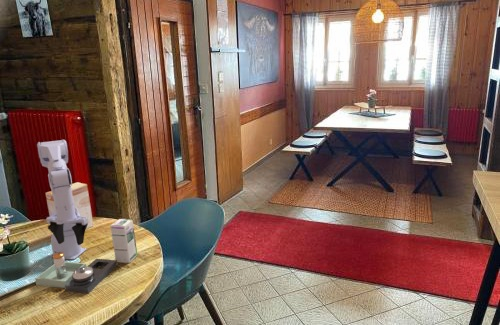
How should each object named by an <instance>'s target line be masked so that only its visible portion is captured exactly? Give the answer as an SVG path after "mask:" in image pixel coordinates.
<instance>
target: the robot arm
mask: <svg viewBox="0 0 500 325" xmlns="http://www.w3.org/2000/svg"><path fill="white" fill-rule="evenodd" d="M36 147H37V153H38V158H39V160H40V164H41V166H42V167H45V168H47V170H48V174H47V177H48V183H49V187H50V189H51V191H52V194H53V198H54V204H55V210H54V211H53V212H52V213H51V215H49V216H47V217H46V223H47V224H48V225H47V229H48V230H49V231H50V232H51V233H52V235H51V237H50V244H51V251H52V255H51V258H52V257H53V255H54V254H55V253H58V252H63V253H64V259H65V260H75V259H77V258H78V257H79V256H80V255H82V254H83V253H84V252H85V251H87V250H88V249H87V248H86V247H82V244H84V242H85V241H84V240H85V233H86V230H87V229H86V227H87V225H88V219H87V217H81V216H80V214H79V211H78V209H77V208H75V207H74V201H73V195H72V189H71V186H72V184H73V181H72V180H73V179H72V175H71V171H70V169H69V168H68V166H67V164H68V163H69V150H68V143H67V141H66V140H65V139H61V140H52V141H43V142H42V141H41V142H40V141H38V142H37V144H36ZM70 185H71V186H70Z"/></svg>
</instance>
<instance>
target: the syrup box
mask: <svg viewBox="0 0 500 325" xmlns="http://www.w3.org/2000/svg"><path fill="white" fill-rule="evenodd" d="M110 233H111V240H112V246H113V250H114V251H113V252H114V257H115V259H114V260H117V263H122V264H131V263H132V261H133V260H135V258H136V257H137V256H138V249H137V242H136V241H137V240H136V234H135V228H134V221H133V219H129V218H119V219H118V220H116V221H114V222H113V223H112V224H111V225H110Z"/></svg>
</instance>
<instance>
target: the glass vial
mask: <svg viewBox="0 0 500 325" xmlns="http://www.w3.org/2000/svg"><path fill="white" fill-rule="evenodd" d="M52 256H53V258H52V259H53V265H55V270H56V275H57V278H58V279H61V278H65V277H66V276H67V269H66V264H65V262H66V261H65V260H66V259H64V253H63V252H58V253H55V254H54V255H53V254H52Z"/></svg>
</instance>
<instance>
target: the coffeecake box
mask: <svg viewBox="0 0 500 325" xmlns="http://www.w3.org/2000/svg"><path fill="white" fill-rule="evenodd" d="M69 185H70V186H71V184H69ZM71 189H72V195H73V201H74V207H75V208H77V209H78V211H79V214H80V216H81V217H87V219H88V225H87V227H86V230H88V229H91V228H93V227H94V221H93V220H94V219H93V215H92V214H93V213H92V208H91V202H90V196H89V188H88V184H87V183H83V182H82V183H81V182H78V181H77V182H74V183H72V186H71ZM45 197H46V204H47V209H48V213H49V214H48V215H49V216H50V215H51V213H52V212H53V211H54V210H55V204H54V198H53V194H52V190H51V191H47V192H45Z"/></svg>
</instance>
